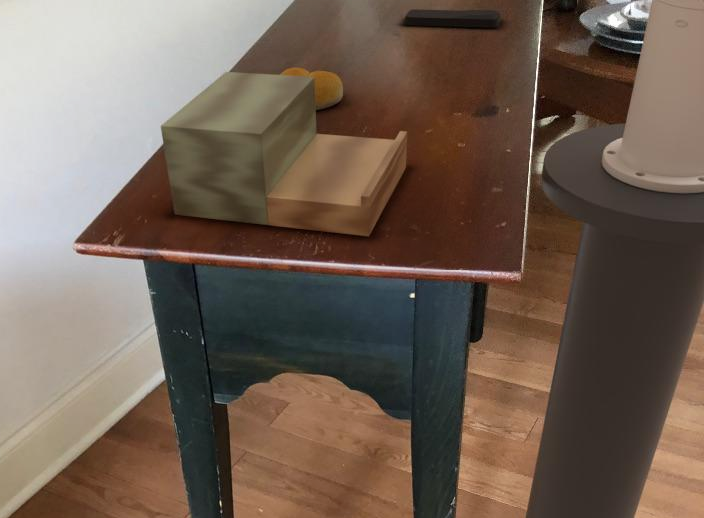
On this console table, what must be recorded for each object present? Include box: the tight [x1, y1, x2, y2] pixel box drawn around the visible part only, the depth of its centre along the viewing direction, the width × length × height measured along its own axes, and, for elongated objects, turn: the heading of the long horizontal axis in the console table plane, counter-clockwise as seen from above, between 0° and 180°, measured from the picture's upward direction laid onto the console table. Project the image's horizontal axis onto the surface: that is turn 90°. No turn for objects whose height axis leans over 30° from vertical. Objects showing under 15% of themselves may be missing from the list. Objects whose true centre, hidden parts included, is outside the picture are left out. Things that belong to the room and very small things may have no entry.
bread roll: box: [280, 66, 344, 111], centre depth 102 cm, size 8×9×4 cm
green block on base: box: [160, 71, 408, 237], centre depth 80 cm, size 20×16×9 cm
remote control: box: [403, 9, 501, 29], centre depth 128 cm, size 5×2×15 cm
